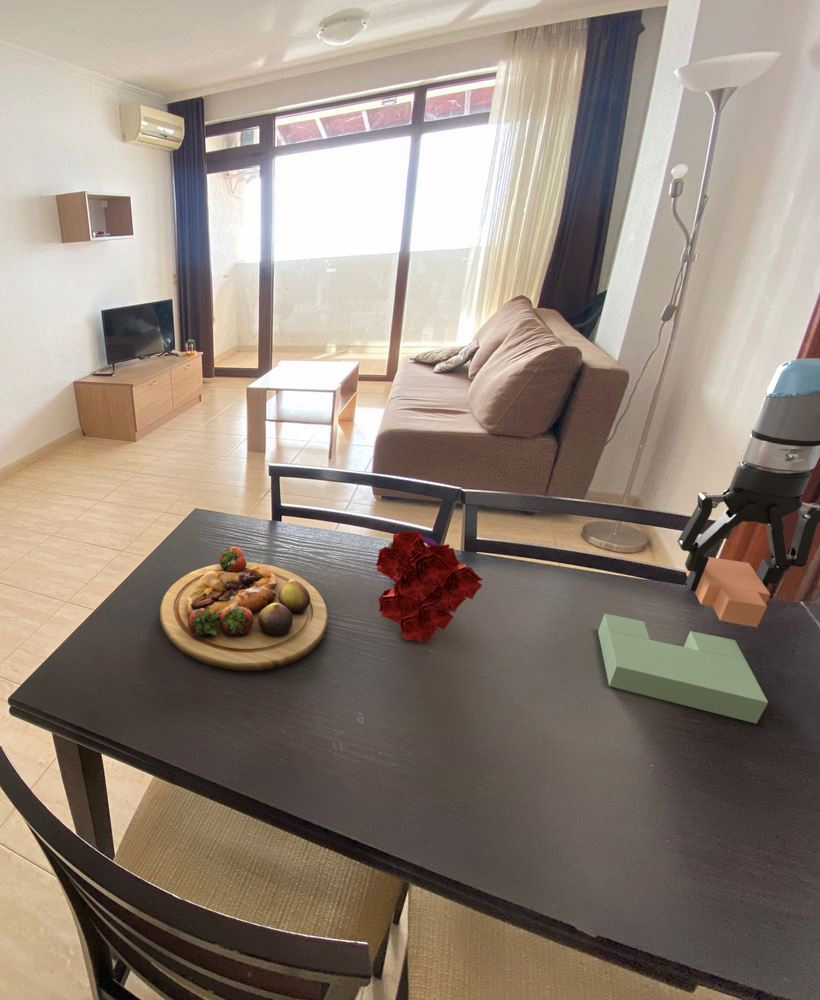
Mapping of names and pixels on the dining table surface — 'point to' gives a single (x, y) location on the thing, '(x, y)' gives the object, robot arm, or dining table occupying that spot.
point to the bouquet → (423, 584)
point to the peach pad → (733, 591)
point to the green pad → (681, 669)
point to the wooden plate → (243, 614)
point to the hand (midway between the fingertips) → (721, 591)
